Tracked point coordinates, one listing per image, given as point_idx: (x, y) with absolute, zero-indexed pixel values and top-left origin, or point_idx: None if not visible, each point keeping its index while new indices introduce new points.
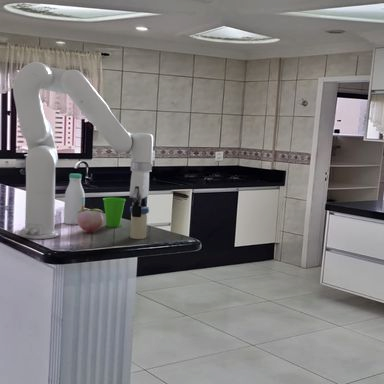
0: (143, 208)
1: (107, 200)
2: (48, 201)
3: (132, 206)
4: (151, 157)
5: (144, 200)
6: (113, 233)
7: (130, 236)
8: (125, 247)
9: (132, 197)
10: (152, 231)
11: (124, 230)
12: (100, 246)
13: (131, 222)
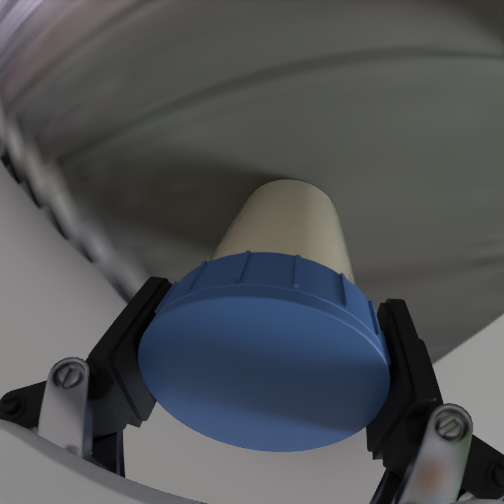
0: (184, 421)
1: None
2: None
3: (92, 350)
4: None
5: (378, 489)
6: (375, 49)
7: (261, 187)
8: (54, 220)
9: (77, 467)
10: (482, 277)
11: (490, 115)
12: (29, 124)
13: (234, 229)
